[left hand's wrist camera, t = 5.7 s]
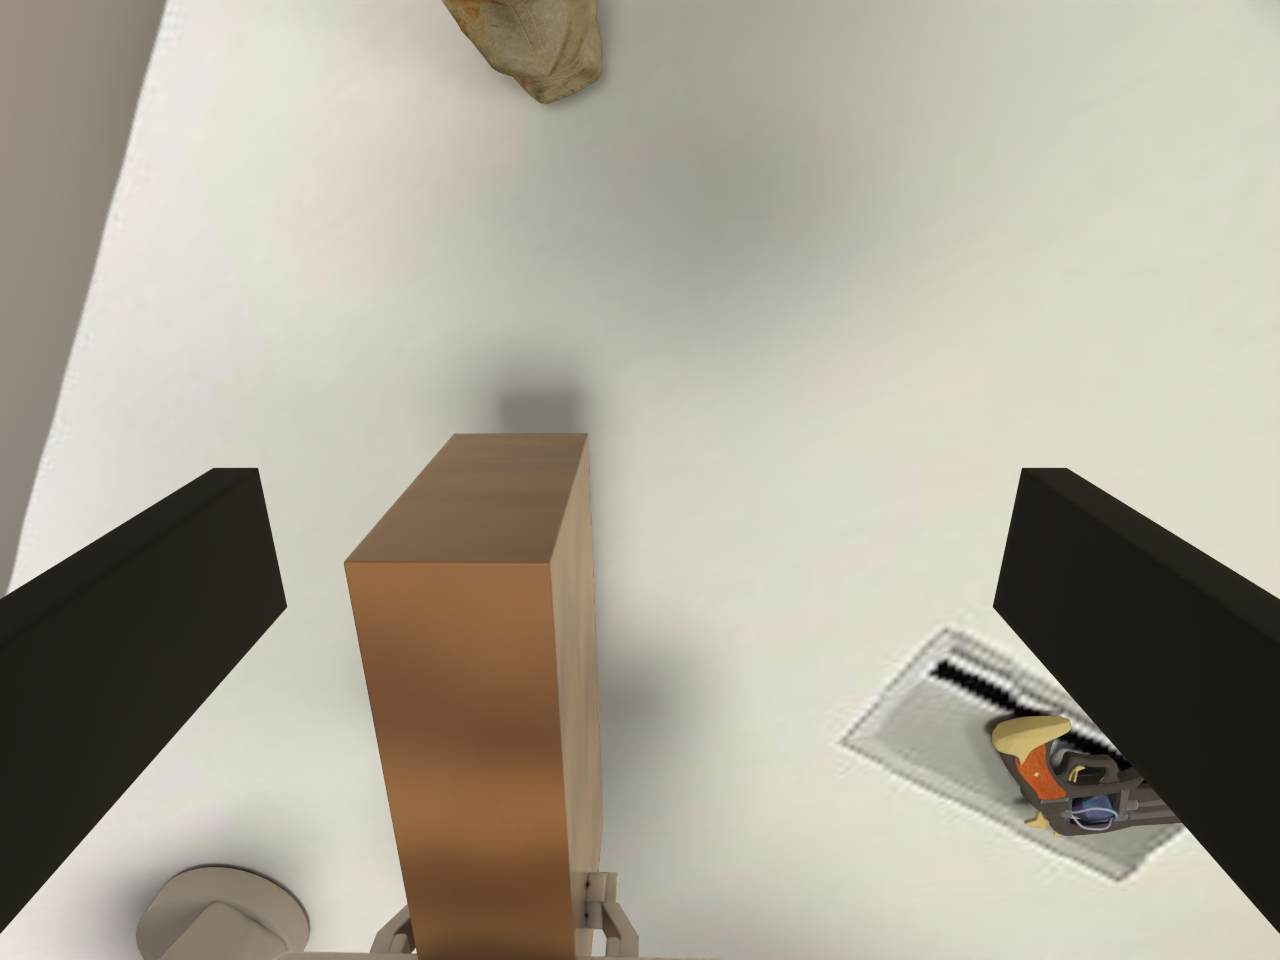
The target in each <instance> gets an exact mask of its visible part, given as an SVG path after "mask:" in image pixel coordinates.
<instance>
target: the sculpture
mask: <svg viewBox="0 0 1280 960" xmlns="http://www.w3.org/2000/svg"><path fill="white" fill-rule="evenodd" d="M442 2H443V3H444V4H445V6H446V7H447V9H448V10H449V12H450V13H451V15H452V16H453V17H454V19H455V20H456V22H457V23H458V25H459V27H460V29H461V30H462V32H463V33H464V34H465V35H466V36H467V37H468V38H469V39H470V40H471V41H472V43H473V44H474V45H475V46H476V48H477V49H478V50H479V51H480V53H481V54H482V55H483V56H484V58H485V59H486V60H487V62H488V63H489V64H490V65H491V67H492V68H493V69H495V70H496V71H498V72H500V73H503V74H506V75H509V76H513V77H514V78H515V80H516V81H517V82H518V83H519V84H520V85H521V86H522V87H523V88H524V89H525V90H526V91H527V92H528V93H529V94H530V95H531V96H532V97H533V98H534V99H536V100H537V101H538V102H540V103H542V104H549V103H551V102H554V101H557V100H560V99H562V98H564V97H567V96H569V95H571V94H573V93H575V92H578V91H580V90H582V89H583V88H585V87H587V86H588V85H590V84H592V83H594V82H595V81H596V80H597V79H598V78H599V77H600V76H601V73H602V49H601V40H600V32H599V28H598V23H597V18H596V13H597V0H442Z"/></svg>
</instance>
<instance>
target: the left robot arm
mask: <svg viewBox="0 0 1280 960" xmlns="http://www.w3.org/2000/svg"><path fill="white" fill-rule="evenodd" d="M286 608H287V604H286V599H285V594H284V589H283V585H282V580H281V575H280V570H279V566H278V561H277V556H276V551H275V547H274V542H273V537H272V532H271V528H270V523H269V518H268V513H267V509H266V504H265V499H264V494H263V489H262V485H261V480H260V475H259V470H258V468H213V469H211V470H209V471H208V472H206V473H204V474H203V475H201V476H200V477H198V478H196V479H195V480H193V481H191V482H190V483H188V484H187V485H185V486H183V487H182V488H180V489H178V490H177V491H175V492H174V493H172V494H170V495H169V496H167V497H165V498H164V499H162V500H161V501H159V502H157V503H156V504H154V505H153V506H151V507H149V508H148V509H146V510H144V511H143V512H141V513H140V514H138V515H136V516H135V517H133V518H131V519H130V520H128V521H127V522H125V523H123V524H122V525H120V526H118V527H117V528H115V529H114V530H112V531H110V532H109V533H107V534H105V535H104V536H102V537H101V538H99V539H97V540H96V541H94V542H92V543H91V544H89V545H88V546H86V547H84V548H83V549H81V550H79V551H78V552H76V553H75V554H73V555H71V556H70V557H68V558H67V559H65V560H63V561H62V562H60V563H58V564H57V565H55V566H54V567H52V568H50V569H49V570H47V571H45V572H44V573H42V574H41V575H39V576H37V577H36V578H34V579H32V580H31V581H29V582H28V583H26V584H24V585H23V586H21V587H19V588H18V589H16V590H15V591H13V592H11V593H10V594H8V595H6V596H5V597H3V598H2V599H0V934H1V932H2V931H3V930H4V929H5V928H6V927H7V926H8V924H9V923H10V922H11V921H12V920H13V919H14V918H15V916H16V915H17V914H18V913H19V912H20V911H21V910H22V908H23V907H24V906H25V905H26V904H27V903H28V902H29V901H30V899H31V898H32V897H33V896H34V895H35V894H36V893H37V891H38V890H39V889H40V888H41V887H42V886H43V885H44V883H45V882H46V881H47V880H48V879H49V878H50V877H51V875H52V874H53V873H54V872H55V871H56V870H57V869H58V867H59V866H60V865H61V864H62V863H63V862H64V861H65V860H66V858H67V857H68V856H69V855H70V854H71V853H72V852H73V850H74V849H75V848H76V847H77V846H78V845H79V844H80V842H81V841H82V840H83V839H84V838H85V837H86V836H87V834H88V833H89V832H90V831H91V830H92V829H93V828H94V826H95V825H96V824H97V823H98V822H99V821H100V820H101V819H102V817H103V816H104V815H105V814H106V813H107V812H108V811H109V809H110V808H111V807H112V806H113V805H114V804H115V803H116V801H117V800H118V799H119V798H120V797H121V796H122V795H123V793H124V792H125V791H126V790H127V789H128V788H129V787H130V785H131V784H132V783H133V782H134V781H135V780H136V779H137V777H138V776H139V775H140V774H141V773H142V772H143V771H144V770H145V768H146V767H147V766H148V765H149V764H150V763H151V762H152V760H153V759H154V758H155V757H156V756H157V755H158V754H159V752H160V751H161V750H162V749H163V748H164V747H165V746H166V744H167V743H168V742H169V741H170V740H171V739H172V738H173V736H174V735H175V734H176V733H177V732H178V731H179V730H180V729H181V727H182V726H183V725H184V724H185V723H186V722H187V721H188V719H189V718H190V717H191V716H192V715H193V714H194V713H195V711H196V710H197V709H198V708H199V707H200V706H201V705H202V703H203V702H204V701H205V700H206V699H207V698H208V697H209V695H210V694H211V693H212V692H213V691H214V690H215V689H216V688H217V686H218V685H219V684H220V683H221V682H222V681H223V680H224V678H225V677H226V676H227V675H228V674H229V673H230V672H231V670H232V669H233V668H234V667H235V666H236V665H237V664H238V662H239V661H240V660H241V659H242V658H243V657H244V656H245V654H246V653H247V652H248V651H249V650H250V649H251V648H252V646H253V645H254V644H255V643H256V642H257V641H258V640H259V639H260V637H261V636H262V635H263V634H264V633H265V632H266V631H267V629H268V628H269V627H270V626H271V625H272V624H273V623H274V621H275V620H276V619H277V618H278V617H279V616H280V615H281V613H282V612H283V611H284V610H285V609H286ZM993 608H994V609H995V610H996V611H997V612H998V613H999V615H1000V616H1001V617H1002V618H1003V619H1004V620H1005V621H1006V623H1007V624H1008V625H1009V626H1010V627H1011V628H1012V629H1013V631H1014V632H1015V633H1016V634H1017V635H1018V636H1019V637H1020V639H1021V640H1022V641H1023V642H1024V643H1025V644H1026V645H1027V647H1028V648H1029V649H1030V650H1031V651H1032V652H1033V653H1034V654H1035V656H1036V657H1037V658H1038V659H1039V660H1040V661H1041V662H1042V664H1043V665H1044V666H1045V667H1046V668H1047V669H1048V670H1049V672H1050V673H1051V674H1052V675H1053V676H1054V677H1055V678H1056V680H1057V681H1058V682H1059V683H1060V684H1061V685H1062V686H1063V688H1064V689H1065V690H1066V691H1067V692H1068V693H1069V694H1070V695H1071V697H1072V698H1073V699H1074V700H1075V701H1076V702H1077V703H1078V705H1079V706H1080V707H1081V708H1082V709H1083V710H1084V711H1085V713H1086V714H1087V715H1088V716H1089V717H1090V718H1091V719H1092V721H1093V722H1094V723H1095V724H1096V725H1097V726H1098V727H1099V729H1100V730H1101V731H1102V732H1103V733H1104V734H1105V735H1106V736H1107V738H1108V739H1109V740H1110V741H1111V742H1112V743H1113V744H1114V746H1115V747H1116V748H1117V749H1118V750H1119V751H1120V752H1121V754H1122V755H1123V756H1124V757H1125V758H1126V759H1127V760H1128V762H1129V763H1130V764H1131V765H1132V766H1133V767H1134V768H1135V770H1136V771H1137V772H1138V773H1139V774H1140V775H1141V776H1142V777H1143V779H1144V780H1145V781H1146V782H1147V783H1148V784H1149V785H1150V787H1151V788H1152V789H1153V790H1154V791H1155V792H1156V793H1157V795H1158V796H1159V797H1160V798H1161V799H1162V800H1163V801H1164V803H1165V804H1166V805H1167V806H1168V807H1169V808H1170V809H1171V811H1172V812H1173V813H1174V814H1175V815H1176V816H1177V817H1178V819H1179V820H1180V821H1181V822H1182V823H1183V824H1184V825H1185V826H1186V828H1187V829H1188V830H1189V831H1190V832H1191V833H1192V834H1193V836H1194V837H1195V838H1196V839H1197V840H1198V841H1199V842H1200V844H1201V845H1202V846H1203V847H1204V848H1205V849H1206V850H1207V852H1208V853H1209V854H1210V855H1211V856H1212V857H1213V858H1214V860H1215V861H1216V862H1217V863H1218V864H1219V865H1220V866H1221V867H1222V869H1223V870H1224V871H1225V872H1226V873H1227V874H1228V875H1229V877H1230V878H1231V879H1232V880H1233V881H1234V882H1235V883H1236V885H1237V886H1238V887H1239V888H1240V889H1241V890H1242V891H1243V893H1244V894H1245V895H1246V896H1247V897H1248V898H1249V899H1250V901H1251V902H1252V903H1253V904H1254V905H1255V906H1256V907H1257V908H1258V910H1259V911H1260V912H1261V913H1262V914H1263V915H1264V916H1265V918H1266V919H1267V920H1268V921H1269V922H1270V923H1271V924H1272V926H1273V927H1274V928H1275V929H1276V930H1277V931H1278V932H1279V934H1280V599H1278V598H1277V597H1275V596H1274V595H1272V594H1270V593H1269V592H1267V591H1265V590H1264V589H1262V588H1261V587H1259V586H1257V585H1256V584H1254V583H1252V582H1251V581H1249V580H1248V579H1246V578H1244V577H1243V576H1241V575H1239V574H1238V573H1236V572H1235V571H1233V570H1231V569H1230V568H1228V567H1226V566H1225V565H1223V564H1222V563H1220V562H1218V561H1217V560H1215V559H1213V558H1212V557H1210V556H1209V555H1207V554H1205V553H1204V552H1202V551H1201V550H1199V549H1197V548H1196V547H1194V546H1192V545H1191V544H1189V543H1188V542H1186V541H1184V540H1183V539H1181V538H1179V537H1178V536H1176V535H1175V534H1173V533H1171V532H1170V531H1168V530H1166V529H1165V528H1163V527H1162V526H1160V525H1158V524H1157V523H1155V522H1153V521H1152V520H1150V519H1149V518H1147V517H1145V516H1144V515H1142V514H1140V513H1139V512H1137V511H1136V510H1134V509H1132V508H1131V507H1129V506H1127V505H1126V504H1124V503H1123V502H1121V501H1119V500H1118V499H1116V498H1114V497H1113V496H1111V495H1110V494H1108V493H1106V492H1105V491H1103V490H1102V489H1100V488H1098V487H1097V486H1095V485H1093V484H1092V483H1090V482H1089V481H1087V480H1085V479H1084V478H1082V477H1080V476H1079V475H1077V474H1076V473H1074V472H1072V471H1071V470H1069V469H1067V468H1022V470H1021V475H1020V480H1019V485H1018V489H1017V494H1016V499H1015V504H1014V508H1013V513H1012V518H1011V523H1010V528H1009V532H1008V537H1007V542H1006V547H1005V551H1004V556H1003V561H1002V566H1001V570H1000V575H999V580H998V585H997V589H996V594H995V599H994V604H993Z"/></svg>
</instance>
